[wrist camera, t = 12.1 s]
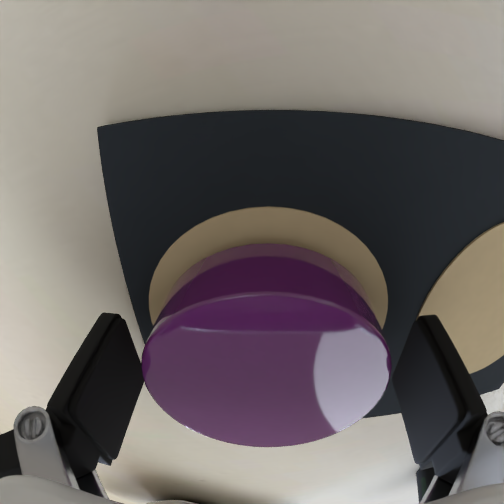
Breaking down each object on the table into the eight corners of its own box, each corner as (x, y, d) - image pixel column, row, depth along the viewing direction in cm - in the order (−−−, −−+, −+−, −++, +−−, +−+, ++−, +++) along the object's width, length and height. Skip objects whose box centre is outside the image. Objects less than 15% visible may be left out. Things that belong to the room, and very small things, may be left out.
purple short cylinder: (150, 233, 9) (108, 288, 7) (385, 233, 9) (425, 289, 6) (185, 383, 13) (171, 440, 10) (349, 385, 12) (359, 442, 9)
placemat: (102, 125, 8) (94, 128, 8) (582, 169, 7) (589, 172, 6) (173, 410, 15) (171, 417, 14) (496, 384, 13) (499, 390, 13)
